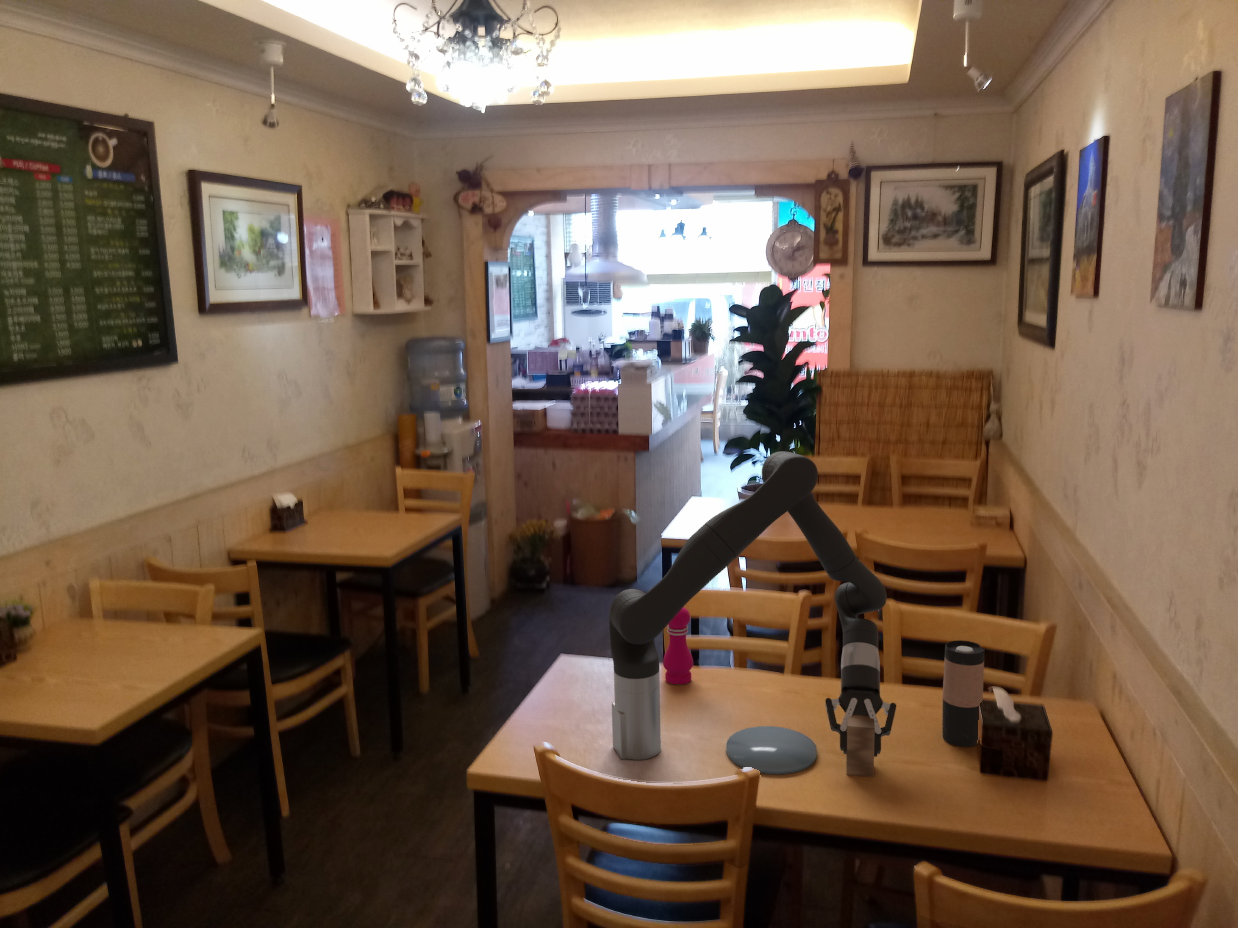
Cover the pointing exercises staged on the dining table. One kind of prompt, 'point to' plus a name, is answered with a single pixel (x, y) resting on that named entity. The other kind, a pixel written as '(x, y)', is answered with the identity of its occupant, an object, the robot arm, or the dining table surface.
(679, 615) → the pepper mill
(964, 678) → the travel mug
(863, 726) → the walnut block
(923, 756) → the dining table surface
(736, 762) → the slate dish
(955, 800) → the dining table surface
